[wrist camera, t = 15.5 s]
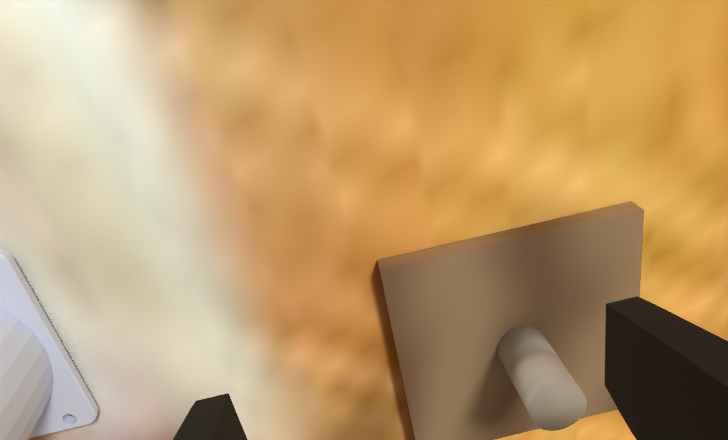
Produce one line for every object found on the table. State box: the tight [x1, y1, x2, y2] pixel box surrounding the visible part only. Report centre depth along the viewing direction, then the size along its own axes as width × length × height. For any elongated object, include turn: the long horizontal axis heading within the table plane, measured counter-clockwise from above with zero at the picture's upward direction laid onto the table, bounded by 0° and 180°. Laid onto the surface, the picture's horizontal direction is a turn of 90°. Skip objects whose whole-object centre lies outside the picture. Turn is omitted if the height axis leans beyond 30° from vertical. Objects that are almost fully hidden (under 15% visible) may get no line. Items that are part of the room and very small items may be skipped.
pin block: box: [377, 201, 644, 440], centre depth 21 cm, size 10×10×4 cm
